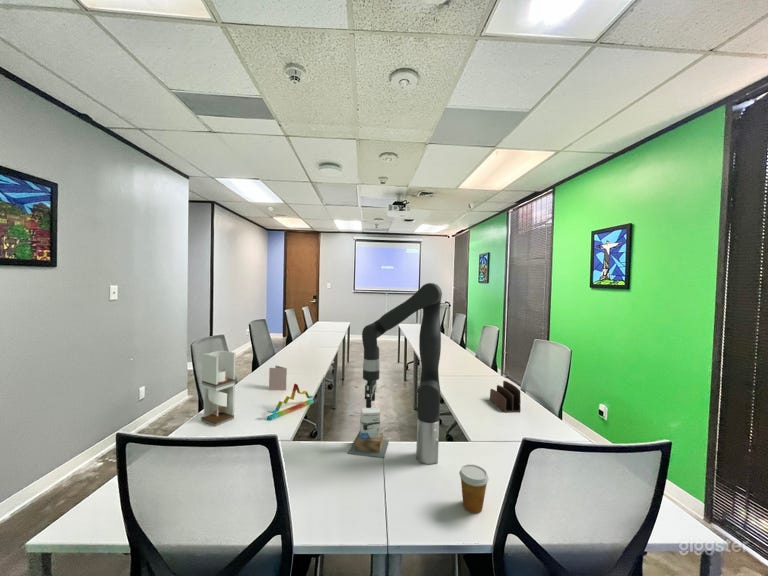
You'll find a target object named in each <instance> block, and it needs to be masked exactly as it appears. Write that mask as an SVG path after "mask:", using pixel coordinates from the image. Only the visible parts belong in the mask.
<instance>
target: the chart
mask: <svg viewBox="0 0 768 576" xmlns="http://www.w3.org/2000/svg"><path fill="white" fill-rule="evenodd" d="M296 392H297V394H300V395H305V396H306V398H307V400H305V401H303V402H300V403H297V404H295V405H293V406H289V407H287V408H284V409H282V410H280V408H281V407H282V405H283V404H285V405H286V404H288V402H289V400H292V401H294V400H295V396H296ZM312 398H314V395H310V394H309V393H308V391H307V390H303V391H301V390H300V388H299V385H298V384H297V383H294V384H293V387H292V392H291V395H290V396H288V395H287V396H286V397H285V399H284V400H283V401H280V400H279V401H278V403H277V405H276V408H275V409H273V410H272V411H269V410H267V412H268V413H270V415H267V416H266V419H267V420H268V421H273V420H276V419H278V418H281V417H283V416H285V415H288V414H290V413H294V412H296V411H297V410H301V409H303V408H305V407H308V406H309V405H312V404H314V399H312Z"/></svg>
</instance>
